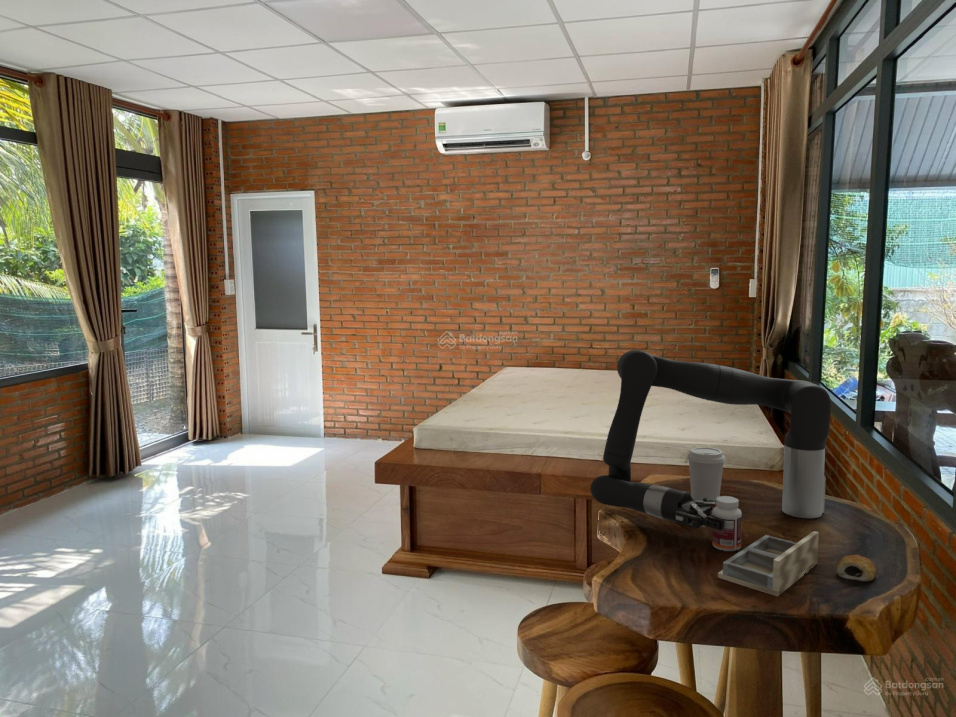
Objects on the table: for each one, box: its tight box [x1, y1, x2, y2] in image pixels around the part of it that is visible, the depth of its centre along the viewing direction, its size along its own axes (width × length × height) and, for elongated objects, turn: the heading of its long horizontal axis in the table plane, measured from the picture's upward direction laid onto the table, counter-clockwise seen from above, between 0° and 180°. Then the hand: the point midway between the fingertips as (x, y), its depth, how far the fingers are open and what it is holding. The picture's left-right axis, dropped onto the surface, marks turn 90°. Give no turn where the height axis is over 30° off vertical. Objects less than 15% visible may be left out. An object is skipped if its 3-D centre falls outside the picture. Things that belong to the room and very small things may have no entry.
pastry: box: [835, 554, 877, 582], centre depth 144 cm, size 9×7×4 cm
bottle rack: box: [717, 530, 820, 598], centre depth 145 cm, size 20×12×7 cm, turn 135°
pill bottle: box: [711, 495, 743, 552], centre depth 157 cm, size 6×6×11 cm
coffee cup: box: [686, 446, 726, 512], centre depth 183 cm, size 10×10×15 cm
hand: (733, 520), depth 156 cm, fingers open, 8 cm apart
